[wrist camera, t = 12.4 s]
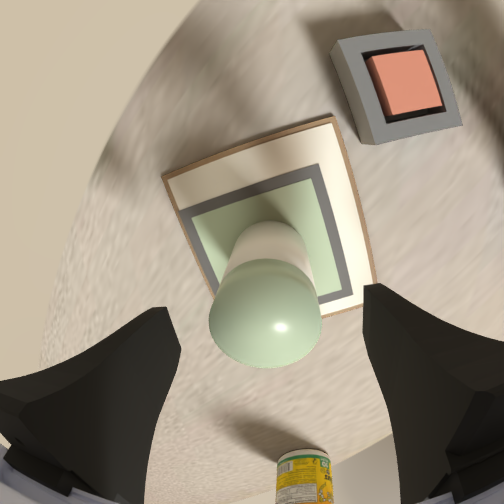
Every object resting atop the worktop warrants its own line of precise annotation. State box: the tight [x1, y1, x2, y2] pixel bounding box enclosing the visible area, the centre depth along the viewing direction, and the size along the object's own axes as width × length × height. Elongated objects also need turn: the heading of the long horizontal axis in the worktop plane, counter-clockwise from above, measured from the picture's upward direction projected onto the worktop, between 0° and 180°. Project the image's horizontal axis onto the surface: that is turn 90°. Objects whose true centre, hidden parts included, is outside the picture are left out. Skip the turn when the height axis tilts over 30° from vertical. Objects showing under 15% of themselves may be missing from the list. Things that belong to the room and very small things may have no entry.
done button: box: [365, 50, 442, 116], centre depth 11 cm, size 3×3×1 cm
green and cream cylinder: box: [209, 221, 322, 368], centre depth 13 cm, size 4×4×6 cm
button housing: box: [329, 29, 463, 145], centre depth 12 cm, size 5×5×2 cm
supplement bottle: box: [275, 449, 334, 504], centre depth 20 cm, size 5×5×10 cm
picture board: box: [161, 116, 377, 319], centre depth 16 cm, size 10×11×1 cm
